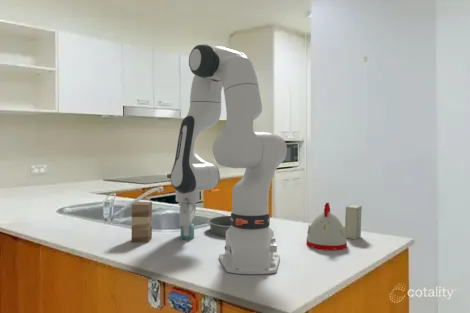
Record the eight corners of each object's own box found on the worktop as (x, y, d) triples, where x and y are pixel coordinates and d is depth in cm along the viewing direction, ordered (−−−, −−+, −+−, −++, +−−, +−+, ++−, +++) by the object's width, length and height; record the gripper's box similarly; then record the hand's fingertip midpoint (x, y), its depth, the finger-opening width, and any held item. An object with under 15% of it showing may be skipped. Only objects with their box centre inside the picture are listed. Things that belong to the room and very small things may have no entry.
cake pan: (268, 226, 175) (268, 216, 175) (267, 239, 151) (267, 227, 151) (212, 224, 178) (212, 214, 178) (202, 237, 153) (202, 225, 153)
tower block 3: (148, 242, 144) (148, 229, 144) (131, 242, 144) (131, 229, 144) (151, 238, 150) (151, 226, 150) (135, 238, 150) (135, 226, 150)
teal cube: (193, 239, 148) (193, 226, 148) (179, 239, 148) (179, 226, 148) (194, 236, 153) (194, 223, 153) (181, 236, 153) (181, 223, 153)
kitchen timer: (302, 247, 140) (303, 204, 139) (310, 239, 152) (311, 199, 152) (344, 252, 134) (345, 207, 134) (348, 242, 147) (349, 201, 147)
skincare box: (350, 235, 159) (350, 204, 159) (361, 236, 157) (362, 205, 156) (344, 238, 154) (345, 206, 154) (355, 239, 152) (356, 207, 151)
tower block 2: (148, 229, 144) (148, 217, 144) (131, 229, 144) (131, 216, 143) (151, 226, 150) (151, 214, 150) (135, 226, 150) (135, 213, 149)
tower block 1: (148, 217, 144) (148, 204, 143) (131, 216, 143) (131, 204, 143) (151, 214, 150) (151, 201, 149) (135, 213, 149) (135, 201, 149)
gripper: (193, 200, 140) (193, 240, 141) (198, 193, 160) (198, 228, 161) (175, 200, 140) (174, 240, 140) (182, 193, 160) (182, 227, 161)
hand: (187, 233), depth 151 cm, fingers closed on teal cube, 5 cm apart
